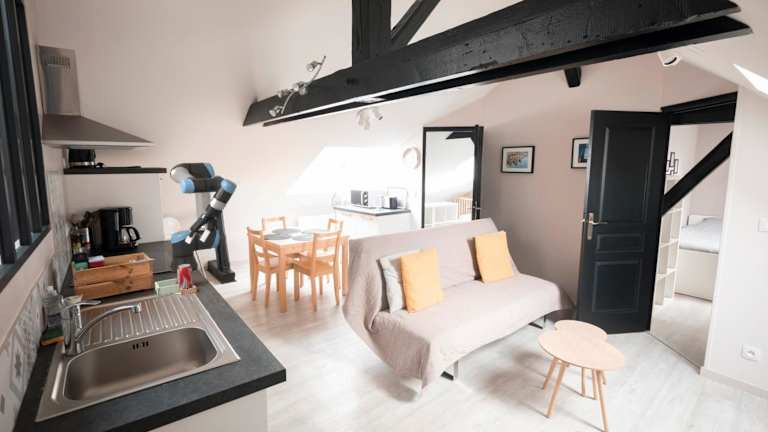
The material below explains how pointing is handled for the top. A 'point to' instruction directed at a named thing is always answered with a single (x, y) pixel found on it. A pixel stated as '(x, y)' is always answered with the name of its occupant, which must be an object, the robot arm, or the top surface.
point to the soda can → (185, 276)
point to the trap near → (188, 290)
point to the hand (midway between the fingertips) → (194, 241)
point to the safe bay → (166, 287)
